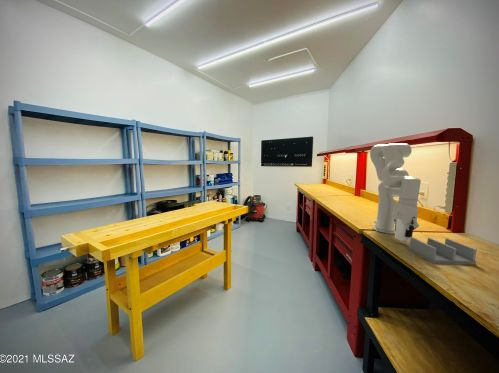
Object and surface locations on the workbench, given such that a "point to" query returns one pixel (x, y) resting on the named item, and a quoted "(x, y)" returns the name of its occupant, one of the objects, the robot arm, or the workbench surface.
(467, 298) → the workbench surface
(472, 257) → the rack
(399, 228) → the can
